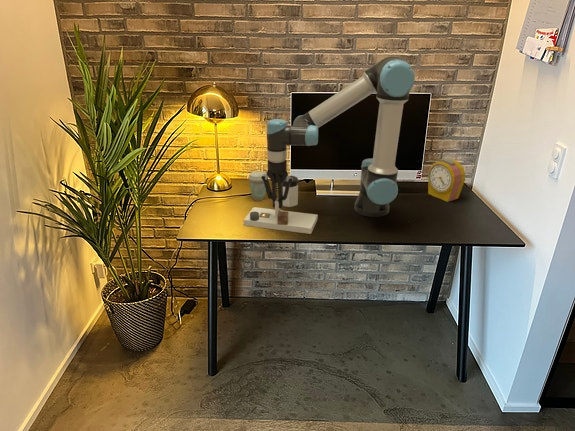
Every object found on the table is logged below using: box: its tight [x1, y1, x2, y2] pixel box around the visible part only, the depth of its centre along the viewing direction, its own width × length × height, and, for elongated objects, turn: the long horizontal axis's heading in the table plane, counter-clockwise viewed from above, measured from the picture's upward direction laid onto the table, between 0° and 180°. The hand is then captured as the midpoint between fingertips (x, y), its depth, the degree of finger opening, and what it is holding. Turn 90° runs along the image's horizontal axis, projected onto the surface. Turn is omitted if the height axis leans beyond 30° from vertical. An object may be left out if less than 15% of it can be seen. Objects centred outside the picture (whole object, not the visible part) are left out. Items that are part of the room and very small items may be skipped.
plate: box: [243, 206, 319, 235], centre depth 188 cm, size 28×13×2 cm, turn 75°
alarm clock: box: [427, 158, 466, 203], centre depth 212 cm, size 15×8×18 cm, turn 33°
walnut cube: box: [277, 210, 288, 225], centre depth 182 cm, size 4×4×4 cm
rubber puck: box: [249, 212, 259, 221], centre depth 185 cm, size 4×4×2 cm
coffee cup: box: [248, 170, 267, 201], centre depth 209 cm, size 8×8×12 cm
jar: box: [282, 175, 299, 208], centre depth 204 cm, size 9×8×12 cm
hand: (277, 214), depth 187 cm, fingers closed
